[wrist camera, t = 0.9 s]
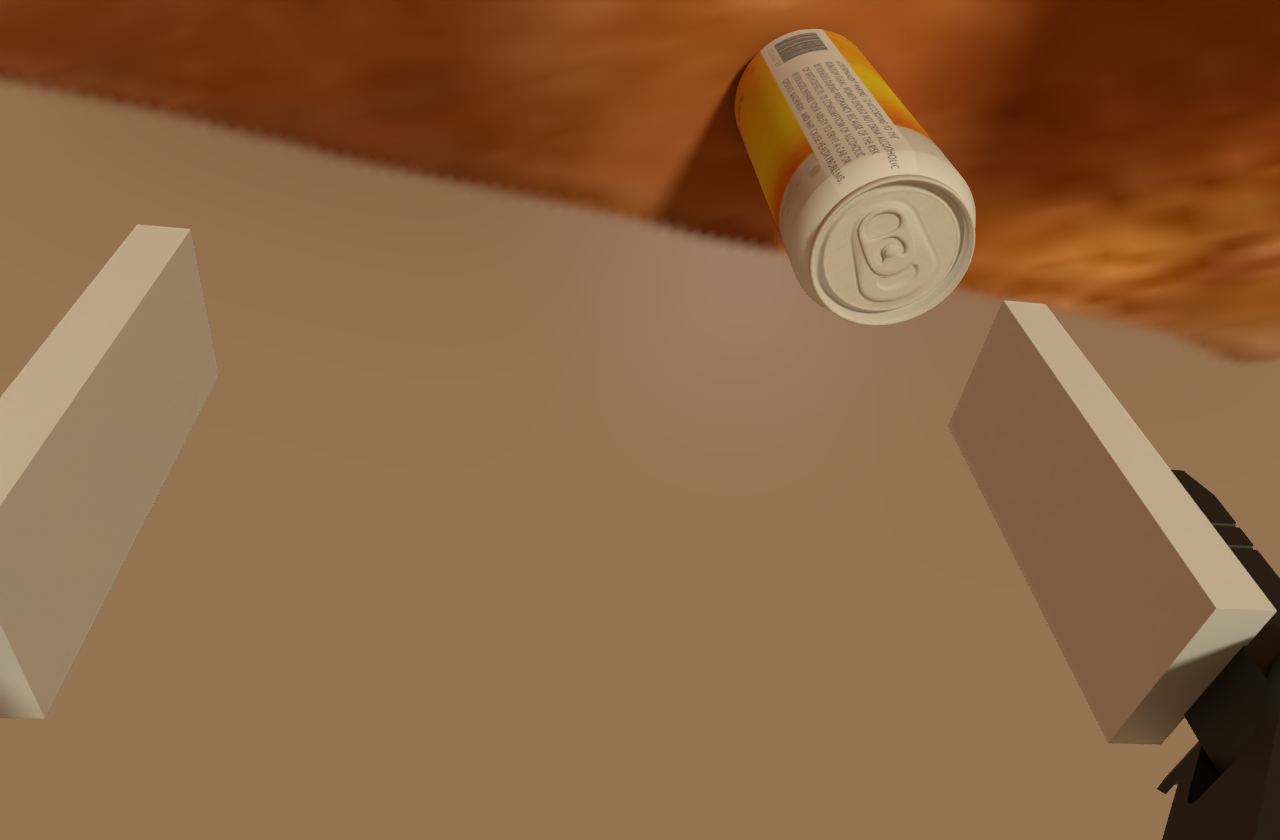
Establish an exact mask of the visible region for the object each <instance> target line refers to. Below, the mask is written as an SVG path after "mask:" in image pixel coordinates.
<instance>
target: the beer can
mask: <svg viewBox="0 0 1280 840" xmlns="http://www.w3.org/2000/svg"><path fill="white" fill-rule="evenodd" d="M735 116H736V122H737V126H738V129H739V131H740V134H741V136H742V139H743V142H744V144H745V147H746V149H747V152H748V154H749V157H750V159H751V162H752V165H753V167H754V170H755V172H756V175H757V177H758V180H759V183H760V185H761V188H762V190H763V193H764V195H765V198H766V200H767V203H768V206H769V208H770V211H771V213H772V216H773V218H774V221H775V224H776V226H777V229H778V231H779V234H780V236H781V239H782V241H783V244H784V247H785V249H786V252H787V254H788V257H789V259H790V262H791V265H792V267H793V270H794V272H795V275H796V277H797V280H798V281H799V283H800V285H801V287H802V288H803V289H804V291H805V292H806V293H807V295H809V297H810V298H811V299H812V300H814V301H815V302H816V303H817V304H819V305H820V306H822V307H824V308H826V309H828V310H829V311H832V312H833V313H834V314H836V315H837V316H839V317H841V318H843V319H845V320H848V321H850V322H853V323H857V324H862V325H872V326H881V325H890V324H896V323H900V322H904V321H907V320H910V319H913V318H915V317H917V316H919V315H921V314H923V313H925V312H927V311H929V310H930V309H932V308H933V307H935V306H936V305H937V304H938V303H940V302H941V301H943V300H944V299H945V298H946V297H947V296H948V295H949V294H950V293H951V292H952V291H953V290H954V289H955V287H956V286H957V285H958V284H959V282H960V281H961V279H962V278H963V276H964V274H965V273H966V271H967V269H968V267H969V264H970V262H971V259H972V256H973V253H974V247H975V226H976V211H975V204H974V200H973V196H972V194H971V191H970V189H969V187H968V185H967V183H966V182H965V180H964V179H963V178H962V176H961V175H960V174H959V173H958V171H957V170H956V169H955V168H954V166H953V165H952V164H951V163H950V161H949V160H948V159H947V158H946V157H945V155H944V154H943V153H942V152H941V150H940V149H939V148H938V147H937V145H936V144H935V143H934V142H933V141H932V139H931V138H930V137H929V136H928V134H927V133H926V132H925V131H924V129H923V128H922V127H921V126H920V125H919V123H918V122H917V121H916V120H915V118H914V117H913V116H912V115H911V113H910V112H909V111H908V110H907V109H906V107H905V106H904V105H903V104H902V102H901V101H900V100H899V99H898V97H897V96H896V95H895V94H894V93H893V91H892V90H891V89H890V88H889V86H888V85H887V84H886V83H885V81H884V80H883V79H882V78H881V77H880V75H879V74H878V73H877V72H876V70H875V69H874V68H873V67H872V65H871V64H870V63H869V62H868V60H867V59H866V58H865V57H864V56H863V54H862V53H861V52H860V51H859V49H858V48H857V47H856V46H855V45H854V44H853V43H852V42H850V41H849V40H848V39H846V38H845V37H843V36H841V35H839V34H836V33H834V32H831V31H827V30H821V29H804V30H798V31H794V32H791V33H788V34H785V35H783V36H781V37H779V38H777V39H775V40H773V41H772V42H771V43H769V44H768V45H766V46H765V47H764V48H763V49H762V50H760V51H759V52H758V53H757V55H756V56H755V57H754V58H753V59H752V60H751V62H750V63H749V64H748V66H747V68H746V69H745V71H744V73H743V75H742V77H741V79H740V82H739V85H738V88H737V92H736V98H735Z"/></svg>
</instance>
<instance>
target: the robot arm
mask: <svg viewBox="0 0 1280 840" xmlns="http://www.w3.org/2000/svg"><path fill="white" fill-rule="evenodd" d="M218 376H219V374H218V369H217V364H216V359H215V353H214V348H213V343H212V337H211V332H210V327H209V322H208V317H207V312H206V306H205V301H204V295H203V290H202V285H201V280H200V275H199V269H198V264H197V259H196V253H195V248H194V243H193V238H192V232H191V229H185V228H174V227H163V226H151V225H140V224H137V225H136V227H135V228H134V229H133V230H132V232H131V233H130V234H129V235H128V237H127V238H126V239H125V241H124V242H123V243H122V244H121V246H120V247H119V248H118V249H117V251H116V252H115V253H114V254H113V256H112V257H111V258H110V259H109V261H108V262H107V263H106V264H105V266H104V267H103V268H102V270H101V271H100V272H99V273H98V275H97V276H96V277H95V278H94V280H93V281H92V282H91V283H90V285H89V286H88V287H87V288H86V290H85V291H84V292H83V293H82V295H81V296H80V297H79V299H78V300H77V301H76V302H75V304H74V305H73V306H72V307H71V309H70V310H69V311H68V312H67V314H66V315H65V316H64V317H63V319H62V320H61V321H60V322H59V324H58V325H57V326H56V328H55V329H54V330H53V332H52V333H51V334H50V335H49V336H48V338H47V339H46V340H45V341H44V343H43V344H42V345H41V346H40V348H39V349H38V350H37V352H36V353H35V354H34V355H33V357H32V358H31V359H30V360H29V362H28V363H27V364H26V366H25V367H24V368H23V369H22V371H21V372H20V373H19V374H18V376H17V377H16V378H15V379H14V380H13V382H12V383H11V385H10V386H9V387H8V388H7V389H6V391H5V392H4V393H3V394H2V396H1V397H0V718H29V719H30V718H31V719H45V718H46V716H47V714H48V712H49V710H50V708H51V706H52V704H53V702H54V700H55V698H56V696H57V694H58V692H59V690H60V688H61V686H62V684H63V682H64V680H65V678H66V676H67V675H68V673H69V671H70V669H71V667H72V665H73V663H74V661H75V659H76V657H77V654H78V653H79V651H80V649H81V647H82V645H83V643H84V641H85V639H86V637H87V635H88V633H89V631H90V629H91V627H92V625H93V623H94V621H95V619H96V617H97V615H98V613H99V611H100V609H101V607H102V605H103V603H104V601H105V599H106V597H107V595H108V593H109V591H110V589H111V587H112V585H113V583H114V581H115V580H116V577H117V575H118V574H119V572H120V570H121V567H122V566H123V564H124V562H125V559H126V558H127V556H128V554H129V552H130V550H131V548H132V546H133V544H134V542H135V540H136V538H137V536H138V534H139V532H140V530H141V528H142V526H143V524H144V522H145V520H146V518H147V516H148V514H149V512H150V510H151V508H152V506H153V504H154V502H155V500H156V498H157V496H158V494H159V492H160V490H161V488H162V486H163V484H164V482H165V481H166V478H167V477H168V475H169V473H170V471H171V469H172V467H173V465H174V463H175V461H176V458H177V457H178V455H179V453H180V451H181V449H182V447H183V445H184V443H185V441H186V439H187V437H188V435H189V433H190V431H191V429H192V427H193V425H194V423H195V421H196V419H197V417H198V414H199V413H200V411H201V409H202V407H203V405H204V403H205V401H206V399H207V397H208V395H209V393H210V391H211V389H212V387H213V385H214V384H215V382H216V380H217V378H218ZM949 428H950V430H951V432H952V434H953V436H954V438H955V440H956V442H957V444H958V446H959V448H960V450H961V452H962V454H963V456H964V458H965V459H966V461H967V464H968V465H969V467H970V470H971V472H972V474H973V476H974V478H975V480H976V482H977V483H978V485H979V487H980V490H981V492H982V494H983V496H984V497H985V499H986V501H987V503H988V505H989V507H990V509H991V511H992V513H993V515H994V517H995V519H996V521H997V523H998V525H999V527H1000V529H1001V531H1002V533H1003V535H1004V537H1005V539H1006V541H1007V543H1008V545H1009V547H1010V549H1011V551H1012V553H1013V555H1014V557H1015V559H1016V561H1017V563H1018V565H1019V567H1020V569H1021V571H1022V573H1023V575H1024V577H1025V579H1026V581H1027V583H1028V585H1029V587H1030V589H1031V591H1032V593H1033V595H1034V597H1035V599H1036V601H1037V603H1038V605H1039V607H1040V609H1041V611H1042V613H1043V615H1044V617H1045V619H1046V620H1047V622H1048V625H1049V627H1050V629H1051V631H1052V633H1053V635H1054V637H1055V639H1056V641H1057V643H1058V644H1059V647H1060V648H1061V651H1062V653H1063V655H1064V657H1065V658H1066V660H1067V662H1068V665H1069V666H1070V668H1071V670H1072V672H1073V674H1074V676H1075V678H1076V680H1077V682H1078V684H1079V686H1080V688H1081V690H1082V692H1083V694H1084V696H1085V698H1086V700H1087V702H1088V704H1089V706H1090V708H1091V710H1092V712H1093V714H1094V716H1095V718H1096V720H1097V722H1098V724H1099V726H1100V728H1101V730H1102V732H1103V734H1104V736H1105V738H1106V740H1107V742H1108V743H1125V744H1162V743H1163V742H1164V740H1165V739H1166V738H1167V737H1168V736H1169V735H1170V734H1171V732H1172V731H1173V730H1174V729H1175V728H1176V727H1177V725H1178V724H1179V723H1180V722H1181V721H1182V720H1183V719H1184V717H1185V718H1186V720H1187V721H1188V723H1189V725H1190V726H1191V728H1192V730H1193V732H1194V733H1195V735H1196V737H1197V738H1198V740H1199V741H1198V742H1197V744H1196V745H1195V746H1194V747H1193V748H1192V749H1191V750H1190V751H1189V752H1188V754H1186V756H1185V757H1184V758H1183V759H1182V760H1181V761H1180V762H1179V763H1178V765H1176V767H1175V768H1174V769H1173V770H1172V771H1171V772H1170V773H1169V774H1168V775H1167V777H1166V778H1165V779H1164V780H1163V781H1162V783H1161V784H1160V786H1159V787H1158V788H1157V789H1158V790H1160V791H1161V792H1163V793H1165V794H1166V793H1167V792H1168V791H1169V790H1170V789H1171V788H1172V786H1173V785H1175V784H1178V786H1177V789H1176V793H1175V797H1174V800H1173V803H1172V807H1171V810H1170V814H1169V817H1168V821H1167V825H1166V828H1165V831H1164V835H1163V839H1162V840H1280V578H1279V577H1278V576H1277V575H1276V573H1275V572H1274V571H1273V569H1272V568H1271V567H1270V565H1269V564H1268V563H1267V562H1266V560H1265V559H1264V558H1263V557H1262V555H1261V554H1260V553H1259V551H1257V550H1253V548H1252V546H1253V544H1252V543H1251V541H1250V540H1249V539H1248V537H1247V536H1246V535H1245V534H1244V532H1243V531H1242V530H1241V529H1240V528H1236V527H1235V523H1236V522H1235V521H1234V520H1233V518H1232V517H1231V516H1230V515H1229V513H1228V512H1227V511H1226V509H1225V508H1224V507H1223V506H1222V504H1221V503H1220V502H1219V500H1218V499H1217V498H1216V497H1215V495H1213V494H1212V493H1211V492H1209V491H1208V490H1207V489H1206V488H1204V487H1203V486H1202V485H1201V484H1199V483H1198V482H1197V481H1196V480H1194V479H1193V478H1192V477H1190V476H1189V475H1188V474H1187V473H1185V472H1184V471H1180V470H1170V469H1169V467H1168V466H1167V465H1166V464H1165V462H1164V461H1163V459H1162V458H1161V457H1160V455H1159V454H1158V453H1157V451H1156V450H1155V449H1154V447H1153V446H1152V445H1151V443H1150V442H1149V441H1148V439H1147V438H1146V437H1145V435H1144V434H1143V433H1142V431H1141V430H1140V429H1139V427H1138V426H1137V425H1136V424H1135V422H1134V421H1133V420H1132V418H1131V417H1130V416H1129V414H1128V413H1127V412H1126V410H1125V409H1124V408H1123V406H1122V405H1121V404H1120V402H1119V401H1118V400H1117V399H1116V397H1115V396H1114V394H1113V393H1112V392H1111V390H1110V389H1109V388H1108V386H1107V385H1106V384H1105V383H1104V381H1103V380H1102V379H1101V377H1100V376H1099V374H1098V373H1097V372H1096V371H1095V369H1094V368H1093V367H1092V365H1091V364H1090V363H1089V361H1088V360H1087V359H1086V357H1085V356H1084V355H1083V353H1082V352H1081V351H1080V349H1079V348H1078V347H1077V345H1076V344H1075V343H1074V341H1073V340H1072V339H1071V337H1070V336H1069V335H1068V333H1067V332H1066V331H1065V329H1064V328H1063V327H1062V325H1061V324H1060V323H1059V321H1058V320H1057V319H1056V318H1055V316H1054V315H1053V314H1052V312H1051V311H1050V310H1049V308H1048V307H1047V306H1046V304H1038V303H1027V302H1015V301H1004V300H1003V302H1002V305H1001V307H1000V310H999V312H998V314H997V316H996V318H995V321H994V323H993V325H992V328H991V330H990V332H989V334H988V337H987V339H986V341H985V343H984V346H983V348H982V350H981V352H980V355H979V357H978V359H977V362H976V364H975V366H974V369H973V371H972V373H971V375H970V377H969V380H968V382H967V384H966V386H965V389H964V391H963V394H962V396H961V398H960V400H959V402H958V405H957V407H956V409H955V411H954V414H953V416H952V418H951V421H950V423H949Z"/></svg>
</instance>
